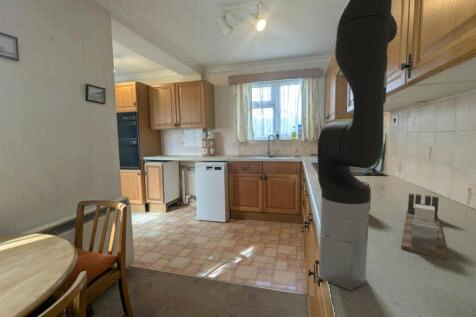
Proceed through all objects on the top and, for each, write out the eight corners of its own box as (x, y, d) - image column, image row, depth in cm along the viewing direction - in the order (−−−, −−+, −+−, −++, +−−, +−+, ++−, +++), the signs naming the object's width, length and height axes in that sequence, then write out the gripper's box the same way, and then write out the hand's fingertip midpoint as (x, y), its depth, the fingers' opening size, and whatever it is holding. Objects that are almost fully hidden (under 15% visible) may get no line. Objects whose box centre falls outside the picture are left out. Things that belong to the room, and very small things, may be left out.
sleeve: (433, 233, 64) (435, 210, 63) (413, 229, 66) (414, 207, 66) (432, 229, 67) (434, 206, 66) (413, 225, 69) (415, 203, 69)
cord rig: (446, 259, 56) (449, 227, 55) (401, 248, 61) (402, 219, 60) (437, 218, 83) (439, 196, 82) (406, 213, 88) (408, 192, 88)
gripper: (383, 83, 63) (379, 145, 65) (389, 90, 73) (385, 144, 75) (353, 86, 68) (350, 144, 69) (363, 93, 78) (360, 144, 80)
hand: (368, 144), depth 72 cm, fingers closed
